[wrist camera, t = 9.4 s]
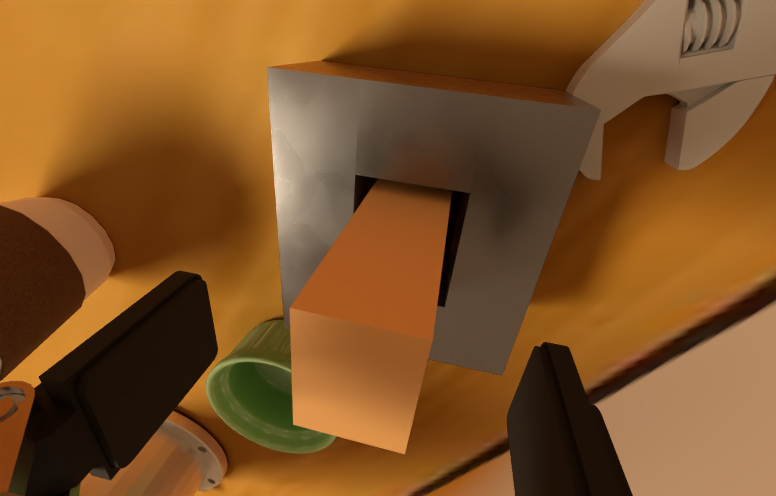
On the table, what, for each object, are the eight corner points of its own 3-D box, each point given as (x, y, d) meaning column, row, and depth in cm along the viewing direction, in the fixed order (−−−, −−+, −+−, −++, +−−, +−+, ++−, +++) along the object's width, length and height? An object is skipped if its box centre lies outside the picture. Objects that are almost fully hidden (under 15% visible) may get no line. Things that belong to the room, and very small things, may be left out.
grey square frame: (495, 307, 21) (502, 375, 17) (320, 273, 22) (284, 327, 18) (564, 90, 15) (601, 109, 11) (320, 60, 16) (266, 67, 12)
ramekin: (239, 377, 29) (205, 426, 25) (245, 293, 25) (204, 338, 21) (344, 414, 29) (325, 470, 25) (370, 337, 24) (352, 391, 20)
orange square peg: (455, 165, 17) (432, 340, 7) (439, 237, 19) (404, 454, 9) (394, 154, 18) (289, 307, 8) (385, 226, 20) (293, 424, 10)
